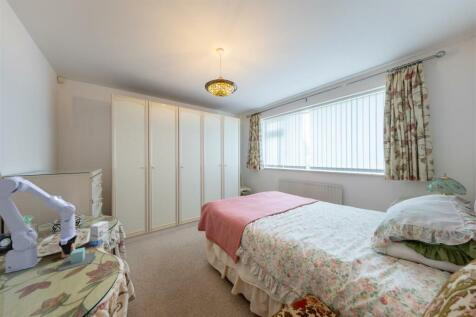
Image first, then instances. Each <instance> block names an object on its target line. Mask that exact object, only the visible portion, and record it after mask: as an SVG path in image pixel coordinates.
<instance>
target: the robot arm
mask: <svg viewBox="0 0 476 317" xmlns="http://www.w3.org/2000/svg"><path fill="white" fill-rule="evenodd" d="M16 192H21V193H23V192H24V193H28V194H30V195H32V196H33V197H36V198H38V199H40V200H42V201H43V202H44V203H43V204H44V205H45V206H46V207H48V208H50V209H51V210H53V211H55V212H57V213H58V215H59V216H60V242H58V247H60V248H61V251H62V250H63V253H64V255H68V254H70V252H71V246H72V243H75V244H76V240H77V238H78V235H79V232H76V217H75V216H76V215H75V212H76V206H75V205H74V203H70V202H69V201H68V202H67V201H66V200H64V199H62V197H61V196H60V195H51V194H49V193H48V192H46V191H45V190H43V189H41V187H39V186H37V185H35V184H34V183H33V182H31V181H29V180H27V179H25V178H24V177H22V176H18V175H14V176H10V177H4V178H2V179H0V217H1V218H2V220H3V222H4V223H5V225H6V227H7V228H8V230H9V231H10V234H11V236H10V239H11V241H12V244H11V246H12V249H11V250H9V251H7V253H6V255H5V257H4V258H5V259H4V261H5V262H4V263H5V264H4V266H5V271H4V274H8V273H12V272H17V271H22V270H26V269H30V268H34V267H36V265H37V264H38V263H40V261H41V260H42V257H39V258H38V242H36V240H37V239H38V237H39V236H38V232H36V231H34V230H33V229H32V228H31V226H28V224H26V221H25V220H24V218H23V216H22V214H21V213H20V211H19V209H18V208H17V206H16V204H15V203H14V201H13V198H12V197H13V195H14V194H15V193H16Z"/></svg>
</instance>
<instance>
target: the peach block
mask: <svg viewBox="0 0 476 317" xmlns="http://www.w3.org/2000/svg"><path fill="white" fill-rule="evenodd" d="M75 249H77V248H76V242H75V243H72V246H71V252H70V254H68V255H64V253H63V250H62V249H61V259H64V258H69V257H71V253H72V251H73V250H75Z"/></svg>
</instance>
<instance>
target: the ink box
mask: <svg viewBox="0 0 476 317" xmlns="http://www.w3.org/2000/svg"><path fill="white" fill-rule="evenodd" d="M107 240H109V220H106V221H105V220H101V221H98V222H95V223H93V224H91V225H90V227H89V246H99V245H101V244H103V243H104V242H106V241H107Z"/></svg>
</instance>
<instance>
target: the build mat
mask: <svg viewBox="0 0 476 317" xmlns="http://www.w3.org/2000/svg"><path fill="white" fill-rule="evenodd" d="M95 254H96V251H91V252H87V253H85V258H84V260H83V261H81V262H77V263H73V264H71V256H69V257H65V259H64V261H63V262H62V264H61V265H60V266H59V268H58V270H57V272H59V271H60V272H61V271H64V270H68V269H72V268H76V267H80V266H85V265H89V264H91V263H92V262H93V258H94V256H95Z"/></svg>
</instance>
